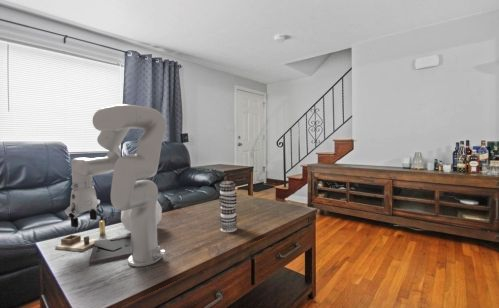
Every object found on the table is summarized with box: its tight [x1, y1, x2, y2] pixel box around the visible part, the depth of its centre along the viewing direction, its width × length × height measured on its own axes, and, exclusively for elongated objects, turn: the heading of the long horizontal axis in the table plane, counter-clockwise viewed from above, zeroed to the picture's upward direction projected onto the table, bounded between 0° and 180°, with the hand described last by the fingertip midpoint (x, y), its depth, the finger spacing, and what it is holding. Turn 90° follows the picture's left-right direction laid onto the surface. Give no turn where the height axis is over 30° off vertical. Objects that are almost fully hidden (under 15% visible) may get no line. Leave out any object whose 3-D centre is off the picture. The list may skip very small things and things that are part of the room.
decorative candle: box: [218, 180, 238, 233], centre depth 130 cm, size 9×9×25 cm
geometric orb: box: [120, 200, 163, 232], centre depth 129 cm, size 19×20×20 cm
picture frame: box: [88, 234, 132, 266], centre depth 109 cm, size 16×2×21 cm
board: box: [54, 234, 102, 253], centre depth 114 cm, size 15×10×4 cm
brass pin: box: [98, 219, 106, 236], centre depth 127 cm, size 2×2×7 cm
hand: (84, 223), depth 113 cm, fingers open, 9 cm apart
